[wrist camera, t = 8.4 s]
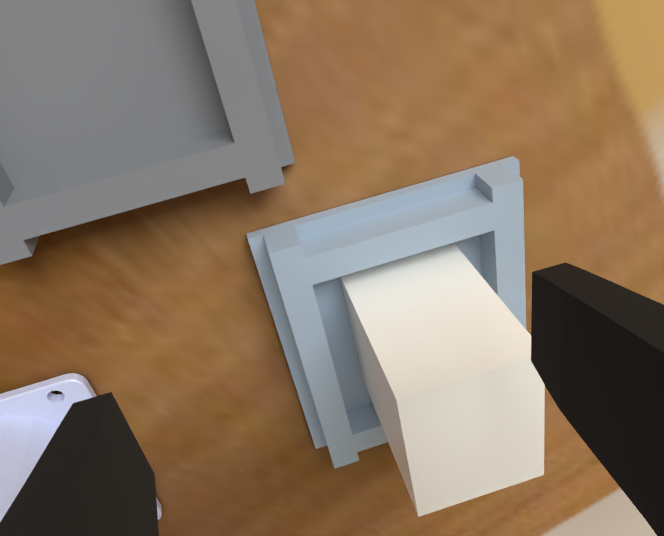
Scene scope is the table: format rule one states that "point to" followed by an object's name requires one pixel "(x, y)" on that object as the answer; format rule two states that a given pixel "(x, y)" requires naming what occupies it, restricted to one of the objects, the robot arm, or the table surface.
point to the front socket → (129, 109)
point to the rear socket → (368, 251)
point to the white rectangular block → (447, 377)
